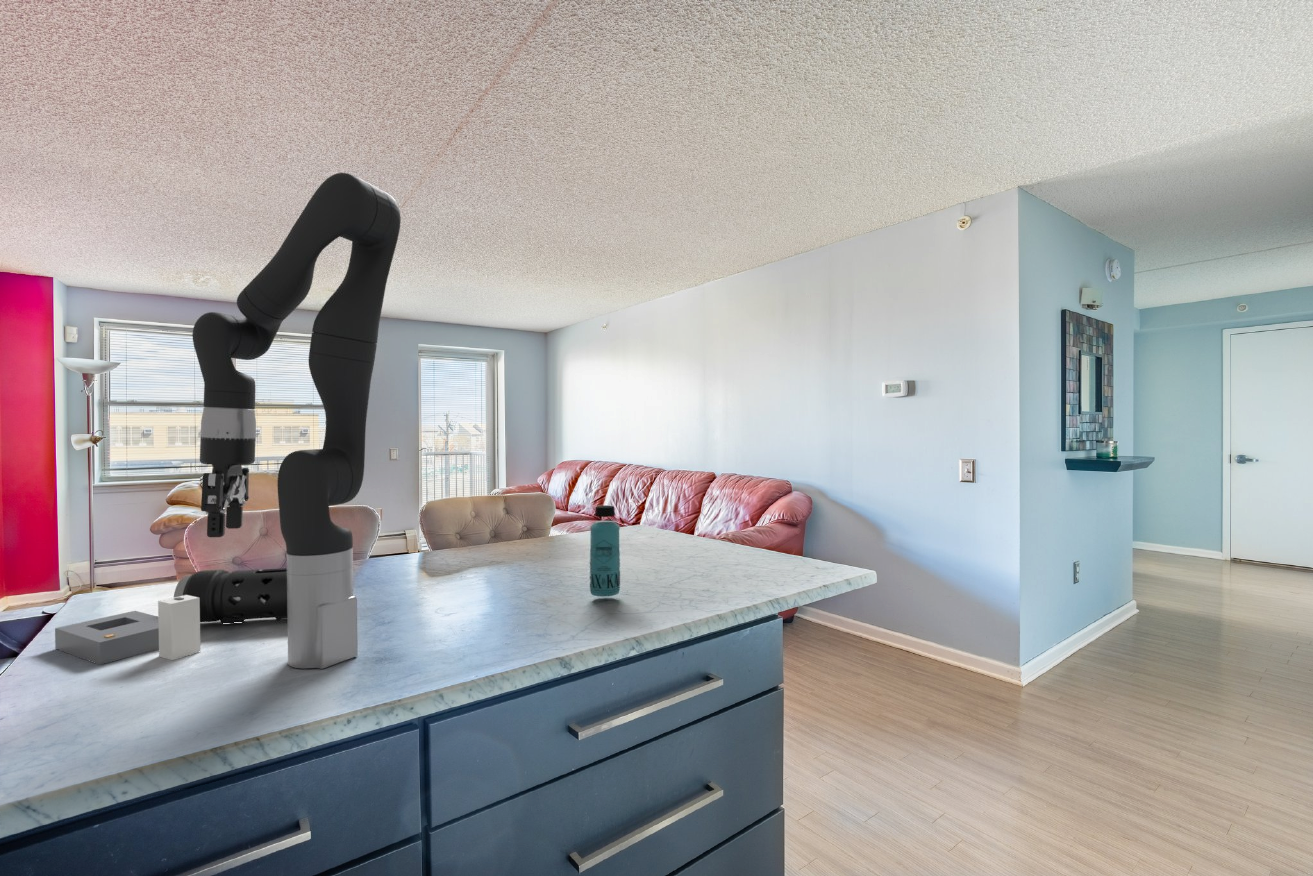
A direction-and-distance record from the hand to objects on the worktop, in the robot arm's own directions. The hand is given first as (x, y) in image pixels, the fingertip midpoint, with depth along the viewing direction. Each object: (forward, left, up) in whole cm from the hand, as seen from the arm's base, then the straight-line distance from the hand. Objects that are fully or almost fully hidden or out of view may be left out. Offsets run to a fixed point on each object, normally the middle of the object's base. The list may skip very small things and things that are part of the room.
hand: (225, 532), depth 101 cm
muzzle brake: (+9, -12, -20) cm, 25 cm away
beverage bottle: (-42, -52, -20) cm, 70 cm away
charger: (+4, +5, -19) cm, 20 cm away
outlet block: (+18, +8, -19) cm, 27 cm away
